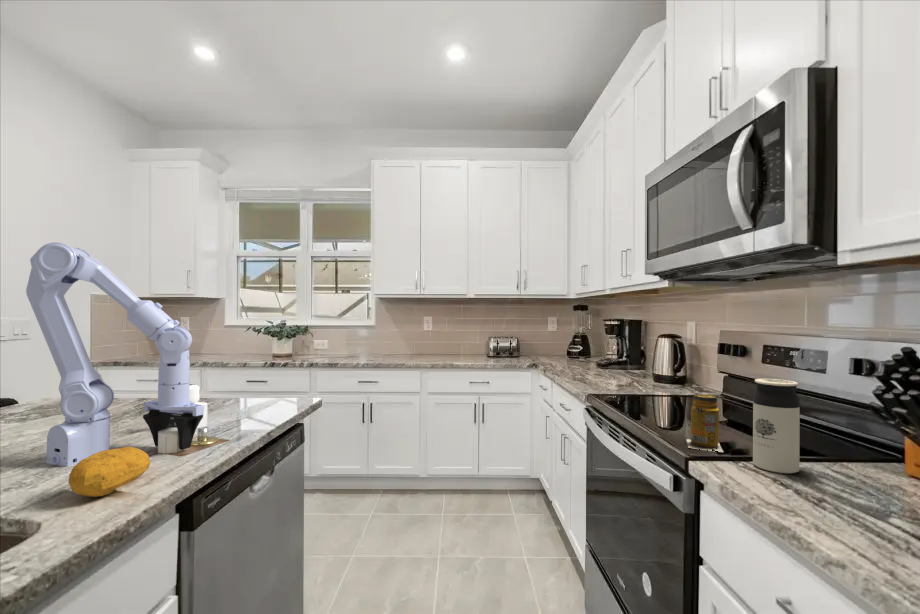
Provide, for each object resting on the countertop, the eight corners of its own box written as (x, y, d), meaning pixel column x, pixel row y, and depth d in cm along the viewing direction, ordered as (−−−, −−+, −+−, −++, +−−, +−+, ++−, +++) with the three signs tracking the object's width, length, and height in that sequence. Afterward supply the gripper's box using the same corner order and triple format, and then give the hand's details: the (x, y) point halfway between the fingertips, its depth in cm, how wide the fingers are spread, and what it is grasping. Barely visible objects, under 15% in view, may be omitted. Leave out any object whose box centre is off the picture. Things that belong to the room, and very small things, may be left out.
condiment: (719, 443, 115) (719, 394, 115) (723, 453, 107) (723, 400, 107) (686, 440, 118) (686, 392, 118) (688, 448, 110) (688, 397, 110)
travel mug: (776, 461, 101) (777, 378, 101) (809, 473, 93) (809, 383, 94) (743, 462, 100) (744, 378, 100) (774, 475, 92) (774, 384, 92)
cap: (171, 454, 97) (171, 434, 97) (151, 451, 98) (151, 432, 98) (193, 447, 102) (193, 428, 102) (174, 445, 103) (174, 426, 103)
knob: (202, 447, 102) (202, 432, 102) (179, 444, 104) (179, 430, 104) (225, 439, 108) (225, 425, 108) (203, 437, 110) (203, 423, 110)
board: (181, 462, 96) (182, 456, 96) (148, 457, 98) (148, 451, 98) (230, 445, 108) (230, 439, 108) (199, 441, 111) (200, 436, 111)
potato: (50, 505, 74) (51, 462, 74) (124, 475, 88) (125, 439, 88) (94, 508, 73) (95, 465, 73) (161, 478, 87) (162, 441, 87)
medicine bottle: (161, 434, 117) (162, 386, 117) (186, 427, 123) (187, 382, 124) (184, 436, 115) (185, 388, 115) (207, 430, 121) (208, 383, 122)
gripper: (215, 382, 102) (214, 445, 102) (164, 378, 106) (163, 438, 106) (188, 387, 95) (186, 454, 95) (135, 383, 99) (133, 447, 99)
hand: (172, 446), depth 100 cm, fingers open, 6 cm apart
